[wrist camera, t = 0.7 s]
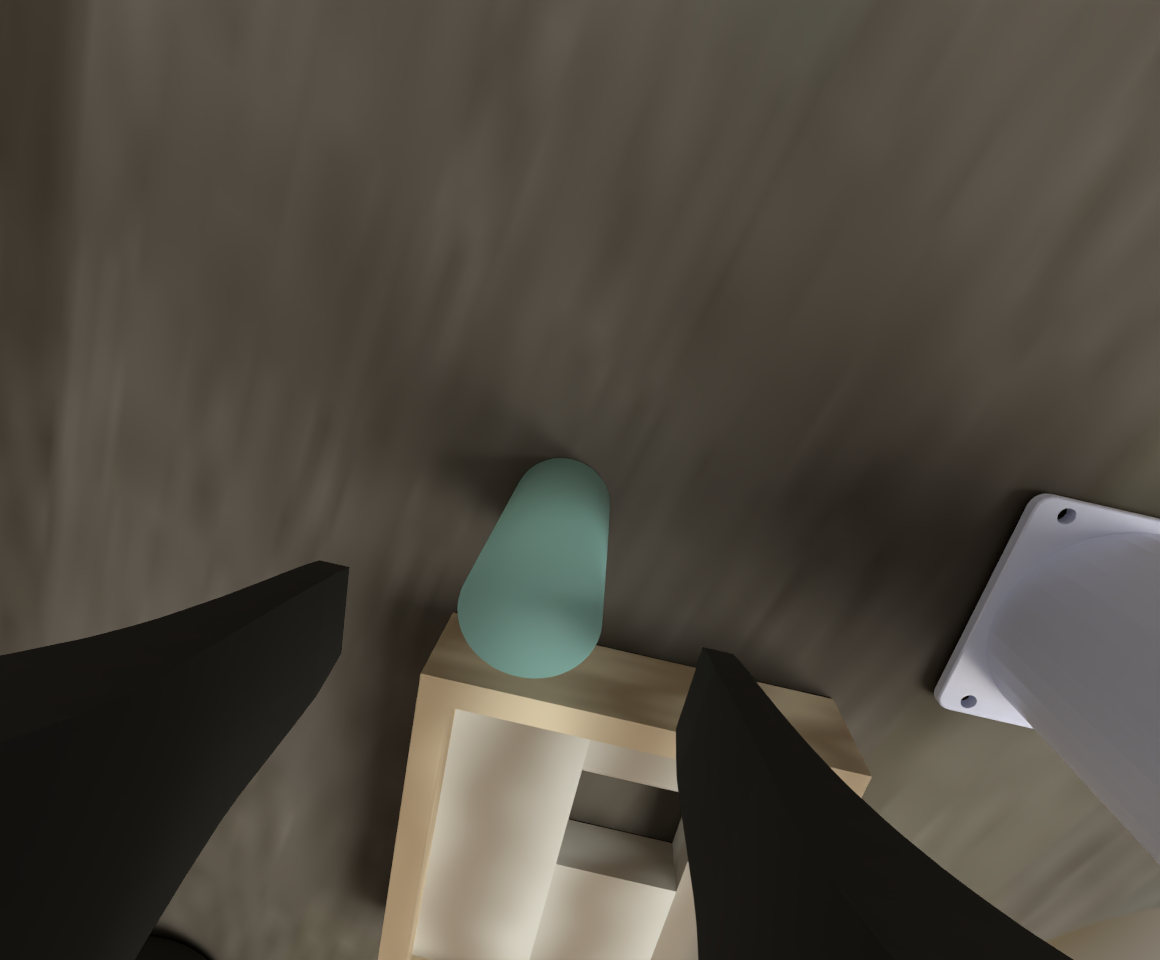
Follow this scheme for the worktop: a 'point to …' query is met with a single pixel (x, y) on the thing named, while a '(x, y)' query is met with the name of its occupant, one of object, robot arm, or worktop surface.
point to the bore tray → (552, 810)
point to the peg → (541, 574)
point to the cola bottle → (166, 950)
